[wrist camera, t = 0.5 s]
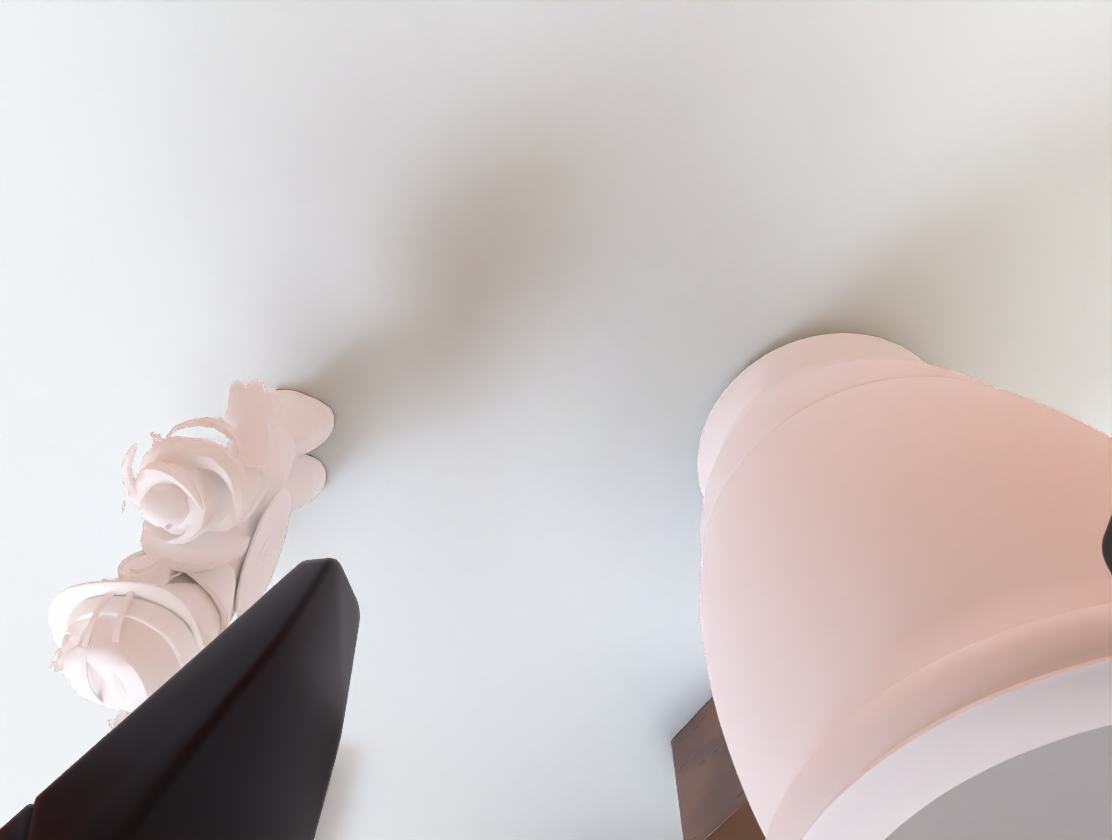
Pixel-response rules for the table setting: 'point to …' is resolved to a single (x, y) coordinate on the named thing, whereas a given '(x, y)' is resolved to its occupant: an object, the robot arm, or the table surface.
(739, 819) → the toy block
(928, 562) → the jar
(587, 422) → the table surface
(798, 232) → the table surface
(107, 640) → the pink action figure
